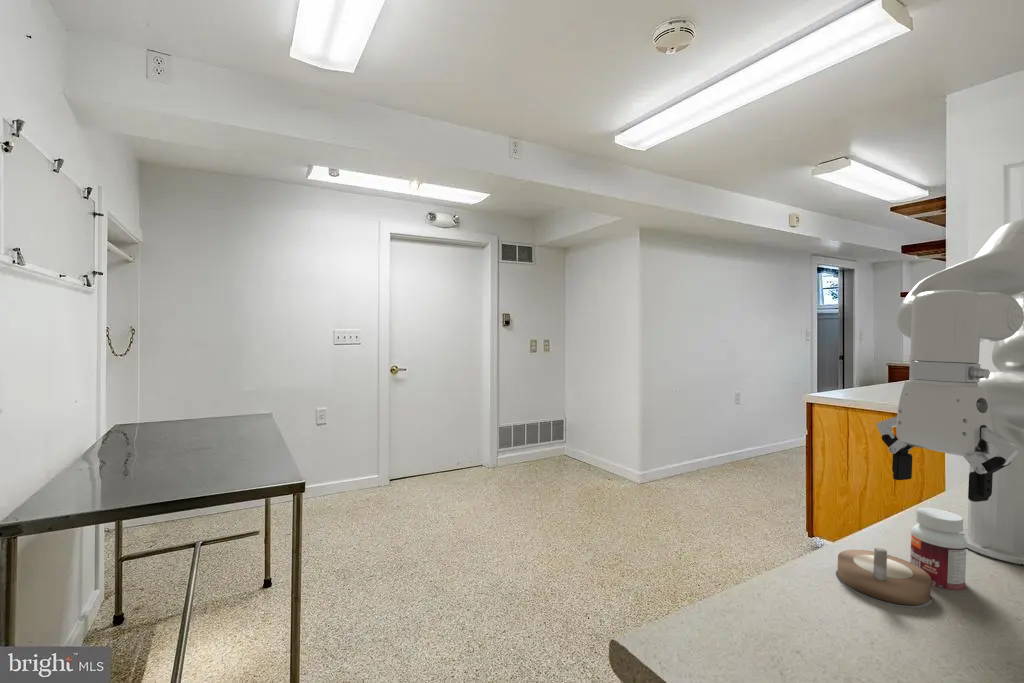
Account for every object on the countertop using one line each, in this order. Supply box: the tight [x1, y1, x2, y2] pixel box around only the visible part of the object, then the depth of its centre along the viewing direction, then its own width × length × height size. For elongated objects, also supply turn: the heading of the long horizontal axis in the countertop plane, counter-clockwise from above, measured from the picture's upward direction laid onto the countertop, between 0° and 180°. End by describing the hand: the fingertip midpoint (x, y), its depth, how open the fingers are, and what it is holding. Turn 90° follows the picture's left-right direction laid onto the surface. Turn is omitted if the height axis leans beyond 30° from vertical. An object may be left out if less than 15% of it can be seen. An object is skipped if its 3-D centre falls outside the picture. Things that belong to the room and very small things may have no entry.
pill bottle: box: [909, 507, 968, 591], centre depth 70 cm, size 6×6×11 cm
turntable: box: [837, 547, 932, 605], centre depth 68 cm, size 11×11×6 cm
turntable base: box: [835, 569, 933, 609], centre depth 68 cm, size 11×11×2 cm
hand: (937, 489), depth 70 cm, fingers open, 9 cm apart
